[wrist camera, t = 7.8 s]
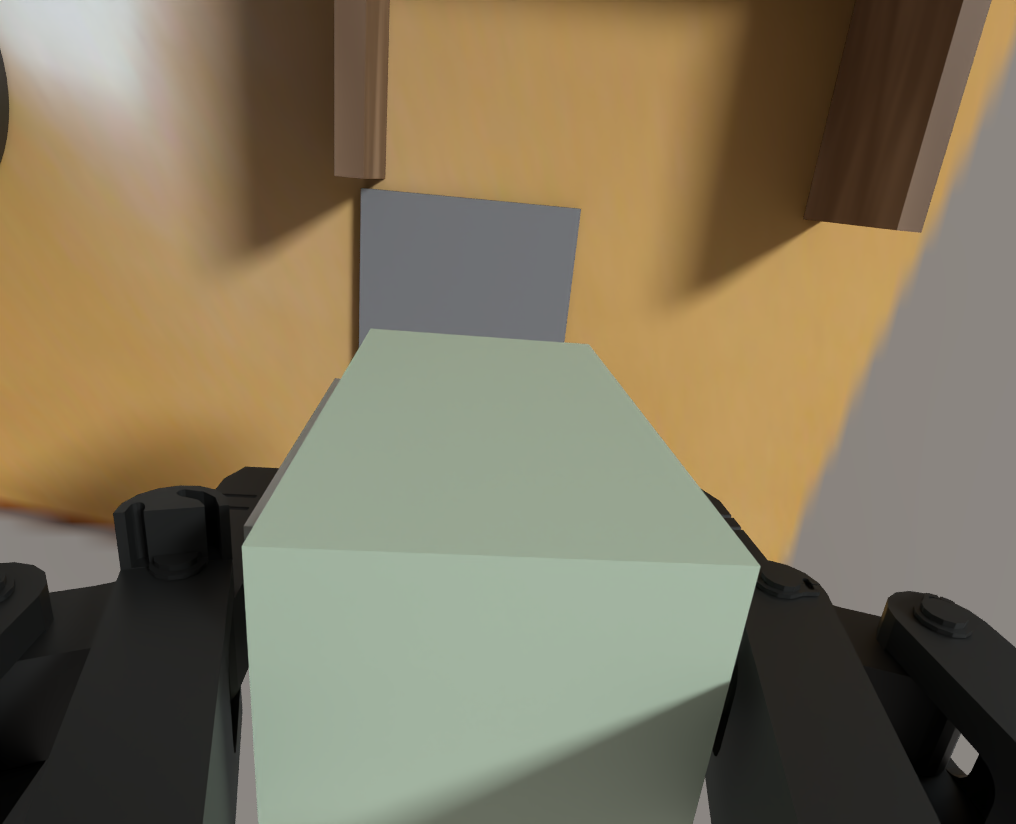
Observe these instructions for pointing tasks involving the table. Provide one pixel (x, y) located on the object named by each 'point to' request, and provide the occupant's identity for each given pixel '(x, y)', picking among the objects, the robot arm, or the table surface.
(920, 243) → the table surface
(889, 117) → the cubby
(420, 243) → the mat
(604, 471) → the block
